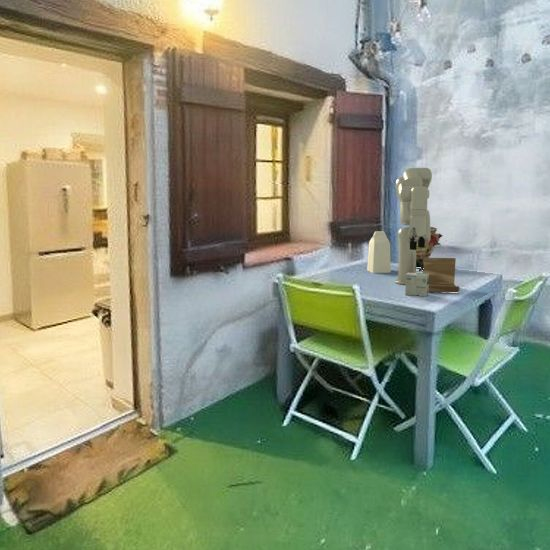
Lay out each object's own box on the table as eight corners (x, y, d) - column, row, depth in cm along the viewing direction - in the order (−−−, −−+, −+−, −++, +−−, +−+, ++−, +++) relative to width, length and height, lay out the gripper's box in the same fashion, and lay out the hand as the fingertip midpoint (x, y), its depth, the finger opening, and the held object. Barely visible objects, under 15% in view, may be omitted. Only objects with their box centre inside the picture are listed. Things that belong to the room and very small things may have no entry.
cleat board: (422, 286, 256) (423, 257, 253) (453, 287, 252) (455, 257, 250) (425, 292, 240) (427, 262, 237) (458, 293, 237) (460, 262, 234)
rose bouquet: (399, 265, 328) (400, 222, 323) (443, 266, 318) (445, 222, 313) (395, 271, 305) (397, 225, 299) (442, 273, 295) (445, 225, 289)
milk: (372, 273, 298) (373, 232, 293) (367, 270, 309) (367, 231, 305) (390, 272, 300) (392, 232, 295) (384, 269, 311) (385, 230, 306)
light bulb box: (428, 294, 237) (429, 273, 235) (426, 296, 231) (427, 275, 229) (407, 292, 242) (407, 272, 240) (404, 295, 236) (405, 274, 234)
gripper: (418, 212, 232) (417, 246, 235) (403, 213, 219) (402, 250, 222) (433, 212, 227) (431, 247, 230) (418, 214, 214) (417, 251, 217)
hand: (417, 248), depth 226 cm, fingers open, 9 cm apart
